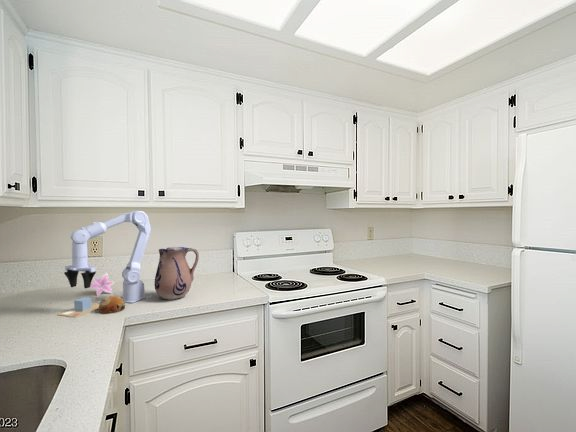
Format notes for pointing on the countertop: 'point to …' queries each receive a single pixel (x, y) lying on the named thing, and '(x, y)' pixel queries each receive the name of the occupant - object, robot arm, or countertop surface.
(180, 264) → the ceramic pitcher
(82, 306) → the blue cube
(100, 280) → the lily
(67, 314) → the envelope
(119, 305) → the bread roll
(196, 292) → the countertop surface
